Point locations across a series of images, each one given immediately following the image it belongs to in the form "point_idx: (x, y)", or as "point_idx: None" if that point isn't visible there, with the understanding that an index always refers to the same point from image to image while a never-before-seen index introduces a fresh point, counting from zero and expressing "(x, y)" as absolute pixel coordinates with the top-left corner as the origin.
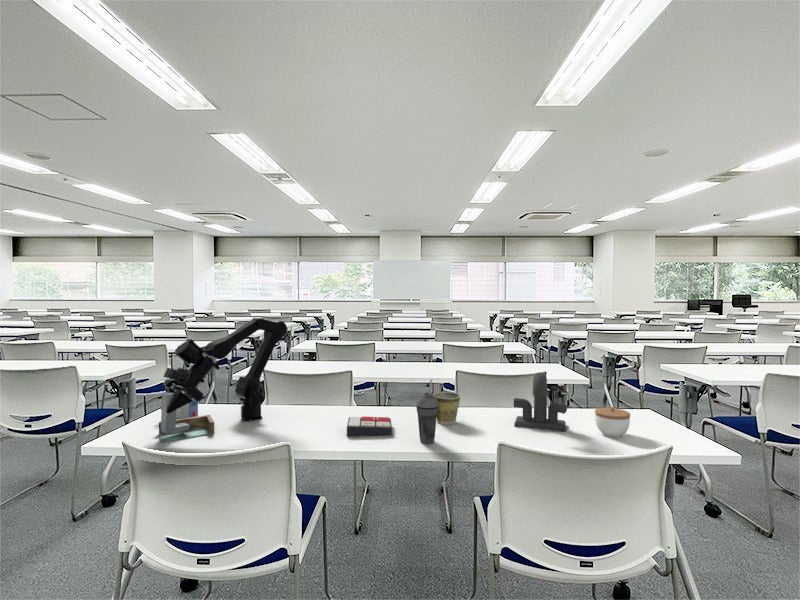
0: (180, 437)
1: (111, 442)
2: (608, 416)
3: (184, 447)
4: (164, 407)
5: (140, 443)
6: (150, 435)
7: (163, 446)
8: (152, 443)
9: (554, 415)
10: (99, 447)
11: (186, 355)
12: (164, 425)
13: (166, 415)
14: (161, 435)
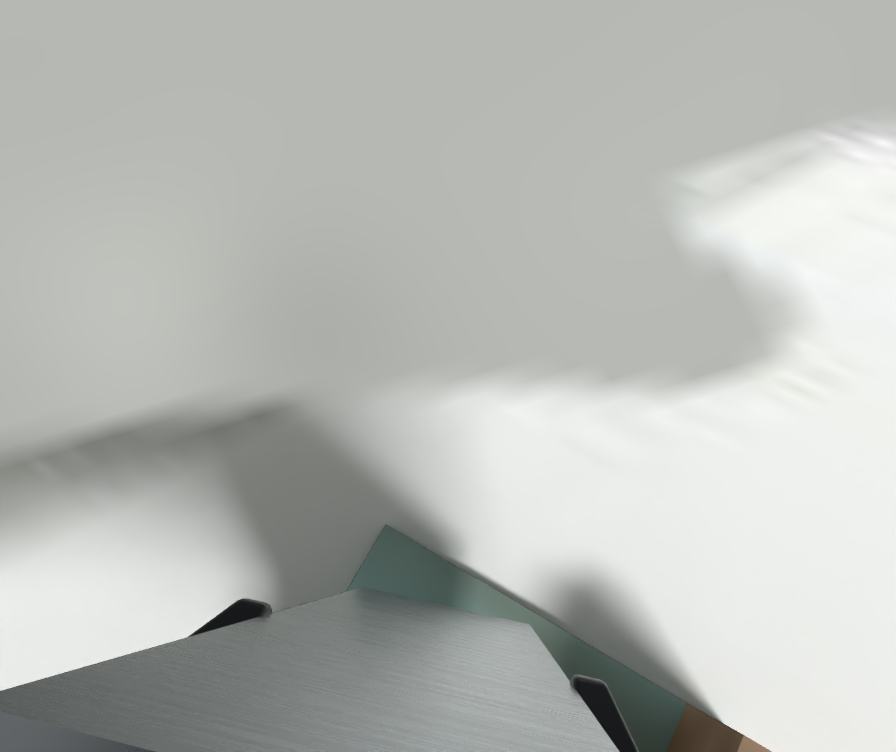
0: None
1: (851, 276)
2: None
3: (12, 562)
4: (378, 654)
5: (559, 403)
6: (749, 626)
7: (251, 468)
8: (445, 466)
9: None
10: (783, 159)
11: None
12: (401, 607)
13: (291, 607)
14: (582, 667)
